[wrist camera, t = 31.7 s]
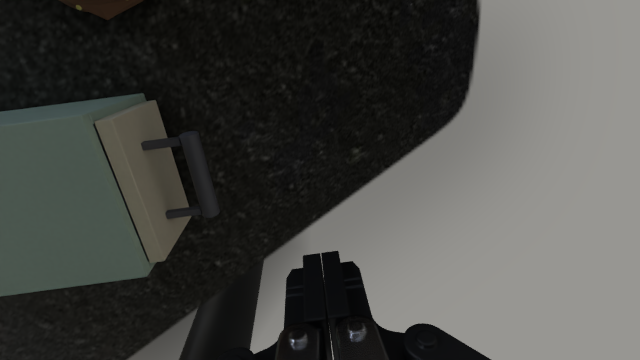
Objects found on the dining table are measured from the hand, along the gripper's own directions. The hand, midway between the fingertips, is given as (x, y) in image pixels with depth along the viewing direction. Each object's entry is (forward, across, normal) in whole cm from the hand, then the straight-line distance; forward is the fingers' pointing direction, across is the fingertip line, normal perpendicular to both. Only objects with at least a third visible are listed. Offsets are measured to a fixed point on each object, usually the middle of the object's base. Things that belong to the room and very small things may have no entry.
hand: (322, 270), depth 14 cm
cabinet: (+19, +21, 0) cm, 28 cm away
